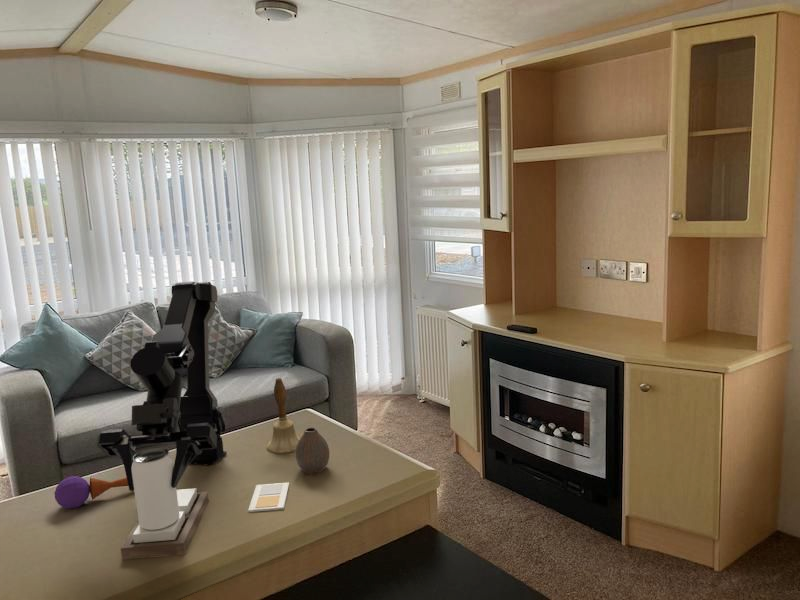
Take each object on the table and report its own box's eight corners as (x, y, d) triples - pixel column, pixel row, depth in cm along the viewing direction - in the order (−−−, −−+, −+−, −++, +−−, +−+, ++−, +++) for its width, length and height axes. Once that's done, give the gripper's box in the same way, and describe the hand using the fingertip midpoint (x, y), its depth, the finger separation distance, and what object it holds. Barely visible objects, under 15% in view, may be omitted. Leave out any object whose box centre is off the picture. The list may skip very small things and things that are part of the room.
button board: (155, 505, 123) (154, 495, 122) (209, 501, 123) (207, 491, 123) (122, 559, 105) (120, 548, 105) (184, 554, 106) (183, 543, 106)
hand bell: (304, 450, 145) (298, 381, 142) (266, 455, 143) (260, 386, 140) (302, 436, 153) (296, 371, 150) (266, 441, 151) (259, 375, 148)
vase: (328, 476, 131) (325, 435, 130) (294, 477, 131) (290, 436, 130) (332, 461, 138) (329, 422, 136) (300, 463, 138) (296, 424, 137)
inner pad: (161, 498, 121) (160, 491, 121) (197, 495, 122) (196, 488, 121) (150, 516, 115) (149, 508, 115) (188, 513, 115) (187, 505, 115)
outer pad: (146, 522, 113) (145, 514, 113) (185, 519, 113) (184, 511, 113) (133, 543, 106) (132, 534, 106) (174, 539, 107) (173, 531, 106)
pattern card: (256, 486, 128) (256, 484, 128) (289, 484, 129) (289, 481, 129) (248, 512, 118) (248, 509, 118) (283, 509, 119) (283, 506, 119)
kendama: (168, 469, 130) (55, 490, 119) (168, 494, 132) (57, 518, 121) (162, 454, 135) (52, 473, 124) (162, 478, 136) (54, 500, 126)
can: (187, 519, 110) (178, 452, 108) (151, 536, 105) (141, 466, 103) (167, 507, 114) (159, 443, 112) (132, 523, 110) (122, 456, 107)
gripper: (92, 385, 109) (74, 477, 100) (205, 377, 110) (197, 467, 101) (116, 413, 118) (101, 499, 109) (220, 405, 119) (213, 490, 110)
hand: (152, 488), depth 107 cm, fingers closed on can, 6 cm apart
